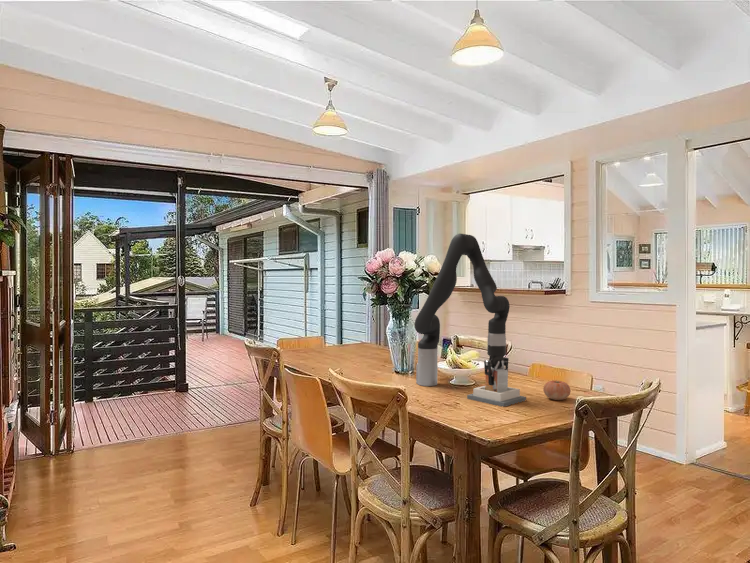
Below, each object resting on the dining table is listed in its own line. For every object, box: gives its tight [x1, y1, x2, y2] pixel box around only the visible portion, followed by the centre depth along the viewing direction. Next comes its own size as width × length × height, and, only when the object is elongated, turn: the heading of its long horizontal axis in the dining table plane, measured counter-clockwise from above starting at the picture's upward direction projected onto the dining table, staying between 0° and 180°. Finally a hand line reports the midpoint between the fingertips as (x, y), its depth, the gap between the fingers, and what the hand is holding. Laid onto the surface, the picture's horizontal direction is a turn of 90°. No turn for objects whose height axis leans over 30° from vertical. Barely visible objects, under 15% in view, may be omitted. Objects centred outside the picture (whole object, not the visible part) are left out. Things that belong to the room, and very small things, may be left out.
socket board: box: [466, 385, 527, 408], centre depth 217 cm, size 18×16×4 cm
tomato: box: [542, 380, 572, 401], centre depth 219 cm, size 11×11×8 cm
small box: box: [484, 367, 509, 393], centre depth 217 cm, size 8×6×10 cm
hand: (496, 383), depth 218 cm, fingers closed on small box, 6 cm apart
